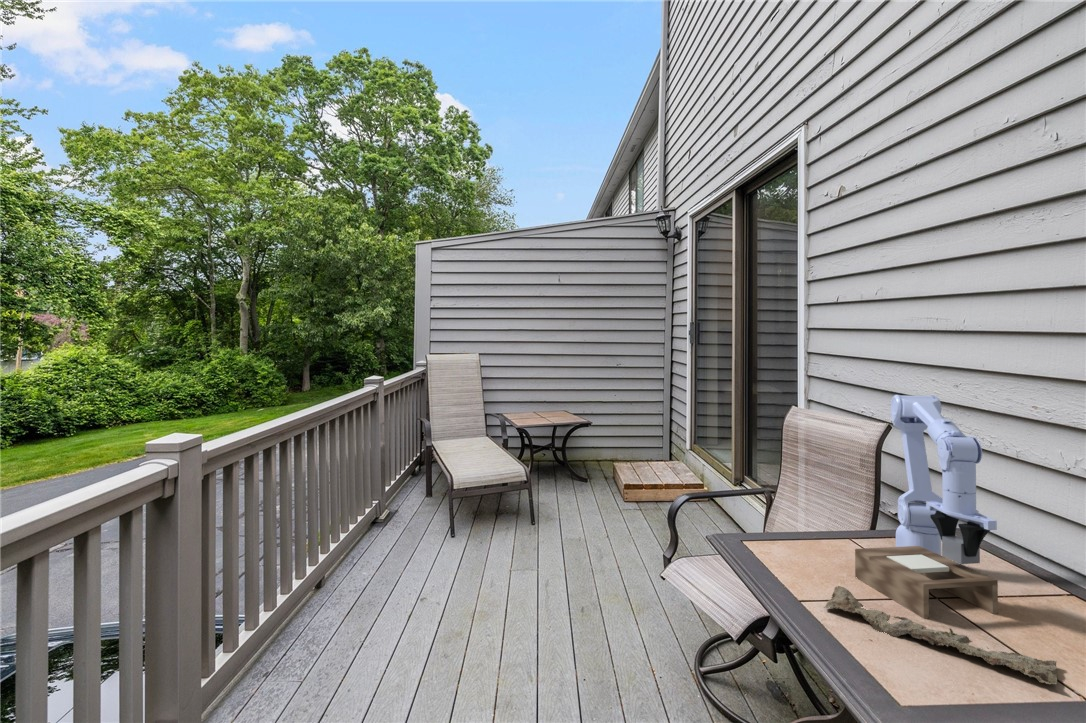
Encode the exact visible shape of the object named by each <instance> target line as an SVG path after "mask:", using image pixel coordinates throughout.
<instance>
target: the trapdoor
mask: <svg viewBox="0 0 1086 723" xmlns="http://www.w3.org/2000/svg"><path fill="white" fill-rule="evenodd" d="M887 558H889V559H891V560H893V561H895V562H897V563H899V564H901V565H903V566H905V567H907V568H909V569H911V570H913V571H915V572H917V573H930V572H949V567H948V566H946V565H944V564H941V563H939V562H937V561H935V560H933V559H930V558H928V557H926V556H924V555H902V556H887Z"/></svg>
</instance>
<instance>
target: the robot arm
mask: <svg viewBox="0 0 1086 723" xmlns="http://www.w3.org/2000/svg"><path fill="white" fill-rule="evenodd" d="M890 400H891V401H890V407H889V408H890V415H891V422H892V425H893V427H895V428H897V429H899V430H900V435H901V441H902V448H903V449H902V450H903V455H904V456H903V457H904V463H905V469H906V477H907V484H908V491H906V492H904V493H903V494H901V495H899V497H898V498H897V518H898V521H899V523H900V524H899V526H897V528H896V531H895V547H905V546H920V547H923V548H925V549H927V550H929V551H932V552H934V553H936V554H939V555H941V556H942V536H956V531H957V526H958V529H959V530H960V534H961V536H962V537H963V544H964V553H965V556H967V557H975V556H976V555H977V552H978V549H979V546H981V544H982V543H983V540H984V539H985V537H986V536H987V534H988V533H989V532H991V531H996V530H998V529H997V524H998V521H997V519H992V518H991V517H988V516H986V515H984V514H981V513H980V512H979V510H977V464H980V462H981V460H982V458H983V449H982V445H981V444H982V443H980V441H979V440H978V438H977V437H975V436H970V435H966V434H964V432H962V430H961V429H960V428H959V427H958V426H957V424H956V423H954V422H953V421H952V420H951V419H949V418H945V417H943V415H942V402H941V400H940V398H939V397H938V396H937V395H936V394H935V395H934V394H933V395H903V394H902V395H900V394H894V395H893V396H892V398H891V399H890ZM925 430H926V433H927V434H928V436H929V438H931V440H932V441H933V442H934V443H935V445H936V452H937V456H938V459H939V460H938V461H939V468H940V469H941V470H942V473H941V474H942V475H941V476H942V480H941V481H942V482H941V483H942V487H941V488H942V489H941V490H942V497H941V496H939V495H938V494H937V493H935V492H934V491H933V489H932V483H931V482H932V481H931V476H930V469H929V462H928V457H927V456H928V455H927V451H926V443H925V436H924V433H925ZM959 520H960V521H964V522H965V523H959Z"/></svg>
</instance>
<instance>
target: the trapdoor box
mask: <svg viewBox="0 0 1086 723" xmlns="http://www.w3.org/2000/svg"><path fill="white" fill-rule="evenodd" d="M902 555H924V556H926V557H928V558H930V559H933V560H935V561H937V562H939V563H941V564H944V565H946V566H948V567H949V572H930V573H917V572H915V571H913V570H911V569H909V568H907V567H905V566H903V565H901V564H899V563H897V562H895V561H893V560H891V559H889V558H887V556H902ZM854 560H855V561H854V565H855V566H854V567H855V570H854V572H855V573H854V577H855V578H856V577H857V578H858V579H857V578H856V579H857V580H859V579H860V580H859V581H861V582H862V581H863V583H864V584H865V585H868V586H869V587H871V588H872V589H874V590H875V591H877V592H879V593H881V594H883V595H884V596H886V597H887V598H890V600H892V601H894V602H895V603H897V604H899V605H901V606H902V607H905V609H908V610H909V611H911V612H913V613H914V614H916V615H917V616H919V617H920V618H922V619H928V618H930V600H929V599H930V592H929V591H930V590H934V589H943V590H945V591H947V592H949V593H951V594H953V595H955V596H957V597H959V598H960V599H963V600H964V601H967V602H969V603H970V604H972V605H974V606H976V607H978V608H980V609H982V610H984V611H986V612H988V613H990V614H994V615H995V613H998V614H999V596H998V595H999V590H998V589H999V586H998V585H999V583H998V582H999V581H998V579H996V578H994V577H992V576H989V575H986V574H984V573H981V572H980V571H978V570H975V569H973V568H970V567H968V566H966V565H965V564H960V563H957V562H955V561H953V560H950V559H948V558H946V557H943V556H942V554H941V555H939V554H936V553H934V552H932V551H929V550H927V549H925V548H923V547H920V546H905V547H896V546H887V547H868V548H867V547H866V548H864V547H863V548H854Z"/></svg>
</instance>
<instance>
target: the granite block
mask: <svg viewBox="0 0 1086 723" xmlns="http://www.w3.org/2000/svg"><path fill="white" fill-rule="evenodd" d="M980 546H981V545H980ZM980 546H979V549H978V552H977V555H976V556H975V557H967V556H965V553H964V544H963V537H962V535H955V536H942V540H941V556H943V557H946V558H948V559H950V560H952V561H955V562H957V563H959V564H962V565H969V564H970V565H971V564H972V565H973V564H981V562H980V561H981V554H980V553H981V552H980V551H981V547H980Z"/></svg>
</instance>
